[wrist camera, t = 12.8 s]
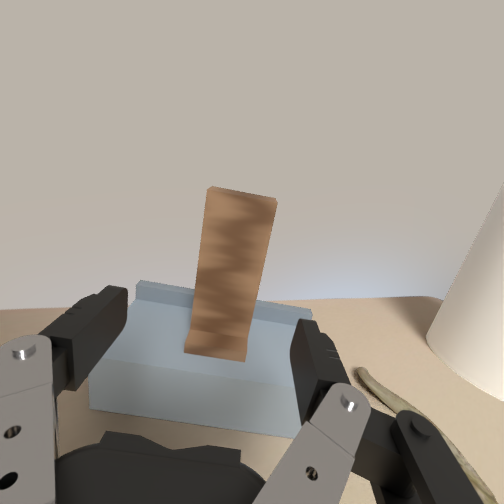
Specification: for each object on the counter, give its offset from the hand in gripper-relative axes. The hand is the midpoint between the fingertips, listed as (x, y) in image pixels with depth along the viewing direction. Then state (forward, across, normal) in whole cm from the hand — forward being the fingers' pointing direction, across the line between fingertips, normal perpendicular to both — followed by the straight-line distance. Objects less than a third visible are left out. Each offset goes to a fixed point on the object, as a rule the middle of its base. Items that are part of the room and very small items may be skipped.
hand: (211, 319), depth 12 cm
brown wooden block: (+11, 0, +10) cm, 15 cm away
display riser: (+11, 0, +16) cm, 19 cm away
